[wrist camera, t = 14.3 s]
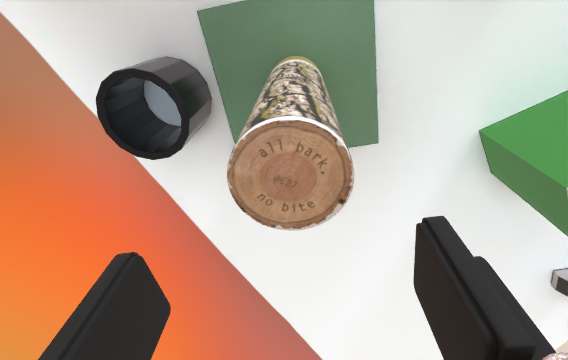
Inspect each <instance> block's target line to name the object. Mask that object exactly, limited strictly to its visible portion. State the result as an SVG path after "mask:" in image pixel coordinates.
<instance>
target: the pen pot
mask: <svg viewBox="0 0 568 360" xmlns="http://www.w3.org/2000/svg"><path fill="white" fill-rule="evenodd" d="M145 80H149V81H151V82H153V83H155V84H156V85H158V86H159V87H161V88H162V89H164V90H165V91H166V92H167V93H168V94H169V96H170V97H171V98H172V99H173V100H174V102H175V103H176V105H177V108H178V110H179V113H180V116H181V127H178V126H173V125H168V124H166V123H165V122H163V121H161V120H160V119H158V118H157V117H156V116H155V115H154V114H153V113H152V111H151V110H150V109H149V108H148V105H147V103H146V101H145V98H144V88H143V84H144V82H145ZM211 99H212V98H211V95H210V91H209V88H208V85H207V83H206V81H205V80H204V78H203V77H202V76H201V74H200V73H199V72H198V70H196V69H195V68H194V67H192V66H191V65H189V64H188V63H186V62H185V61H183V60H180V59H176V58H171V57H162V58H158V59H153V60H150V61H146V62H143V63H140V64H137V65H133V66H130V67H127V68H124V69H120V70H117V71H114V72H113V73H112V74H110V75H109V76H108V77H107V78H106V79H105V80H103V81H102V82H101V85H100V88H99V90H98V93H97V96H96V105H97V114H98V118H99V120H100V122H101V124H102V126H103V128H104V130H105V132H106V133H107V135H109V137H110V138H111V139H112V140H113V141H114V142H115V143H116V144H117V145H118V146H119V147H120V148H122V149H124V150H126V151H127V152H129V153H131V154H133V155H135V156H137V157H141V158H146V159H151V160H156V159H162V158H169V157H171V156H172V155H174V154H175V153H177V152H178V151H180V150H181V149H182V148H183V147H184V146H185V145H186V143H187V142H188V141H189V140H190V139H191V138H192V137H193V135H194V134H195V133H196V132H197V131H198V130H199V129H200V127H201V126H202V125H203V124H204V123H205V121H206V119H207V117H208V116H209V114H210V111H211Z"/></svg>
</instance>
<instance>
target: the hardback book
mask: <svg viewBox="0 0 568 360" xmlns="http://www.w3.org/2000/svg"><path fill="white" fill-rule="evenodd" d="M479 133H480V137H481V140H482V143H483V147H484V150H485V154H486V157H487V161H488V164H489V167H490V171H491V173H492V174H493V175H495V176H496V177H497V178H498V179H499V180H501V181H502V182H503V183H504V184H505V185H507V186H508V187H509V188H510V189H511V190H513V191H514V192H515V193H516V194H517V195H519V196H520V197H521V198H522V199H523V200H525V201H526V202H527V203H528V204H529V205H531V206H532V207H533V208H534V209H535V210H537V211H538V212H539V213H540V214H541V215H543V216H544V217H545V218H546V219H547V220H549V221H550V222H551V223H552V224H553V225H555V226H556V227H557V228H558V229H560V230H561V231H562V232H563V233H564V234H566V235H567V236H568V91H566V92H564V93H561V94H559V95H557V96H555V97H553V98H550V99H548V100H546V101H544V102H542V103H539V104H537V105H535V106H533V107H530V108H528V109H526V110H524V111H522V112H519V113H517V114H515V115H513V116H510V117H508V118H506V119H504V120H502V121H499V122H497V123H495V124H493V125H490V126H488V127H486V128H484V129H482V130H479Z"/></svg>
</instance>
